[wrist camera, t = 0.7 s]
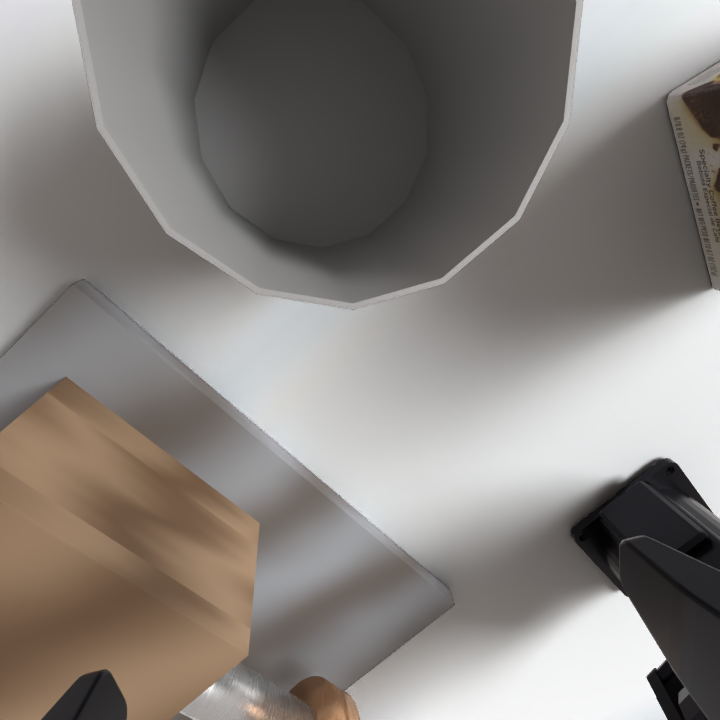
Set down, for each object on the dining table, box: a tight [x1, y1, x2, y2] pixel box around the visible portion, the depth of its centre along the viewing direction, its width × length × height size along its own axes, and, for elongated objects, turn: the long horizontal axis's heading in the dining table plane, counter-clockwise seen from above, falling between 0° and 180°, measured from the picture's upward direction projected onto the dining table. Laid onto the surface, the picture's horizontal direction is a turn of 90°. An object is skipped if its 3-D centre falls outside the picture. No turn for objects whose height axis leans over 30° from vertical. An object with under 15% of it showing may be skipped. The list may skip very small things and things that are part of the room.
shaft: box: [180, 663, 360, 720], centre depth 19 cm, size 14×5×5 cm, turn 42°
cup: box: [72, 0, 583, 310], centre depth 13 cm, size 8×8×10 cm
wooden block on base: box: [0, 279, 455, 720], centre depth 19 cm, size 23×16×8 cm
